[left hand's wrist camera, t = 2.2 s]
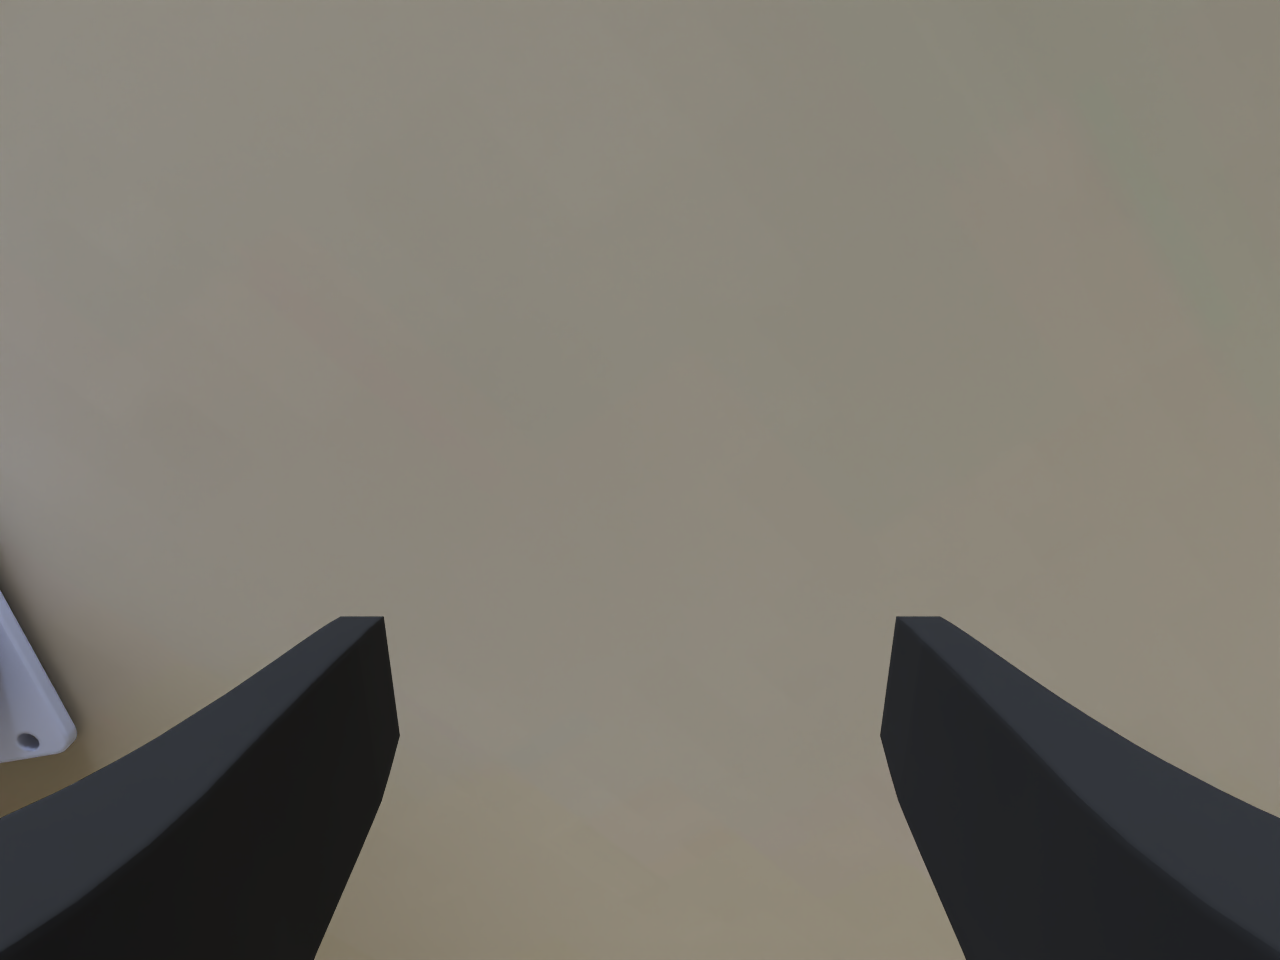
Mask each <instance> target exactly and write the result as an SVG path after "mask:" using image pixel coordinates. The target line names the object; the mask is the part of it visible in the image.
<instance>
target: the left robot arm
mask: <svg viewBox="0 0 1280 960" xmlns="http://www.w3.org/2000/svg"><path fill="white" fill-rule="evenodd" d="M32 735H33V736H35V737H36V738H37V739H36V738H34V737H33V736H32ZM399 736H400V734H399V726H398V719H397V711H396V704H395V697H394V689H393V682H392V675H391V667H390V660H389V652H388V645H387V638H386V630H385V623H384V617H339V618H337V619H335V620H334V621H332V622H330V623H329V624H327V625H326V626H324V627H322V628H321V629H319V630H318V631H316V632H315V633H313V634H312V635H311V636H309V637H308V638H306V639H305V640H303V641H302V642H300V643H299V644H298V645H296V646H295V647H293V648H292V649H290V650H289V651H288V652H286V653H285V654H283V655H282V656H280V657H279V658H278V659H276V660H275V661H273V662H272V663H270V664H269V665H267V666H266V667H265V668H263V669H262V670H260V671H259V672H257V673H256V674H254V675H253V676H251V677H250V678H249V679H247V680H246V681H244V682H243V683H241V684H240V685H238V686H237V687H236V688H234V689H233V690H231V691H230V692H228V693H227V694H225V695H224V696H222V697H220V698H219V699H217V700H216V701H214V702H213V703H211V704H209V705H208V706H206V707H205V708H203V709H201V710H200V711H198V712H197V713H195V714H194V715H192V716H190V717H189V718H187V719H186V720H184V721H183V722H181V723H179V724H178V725H176V726H175V727H173V728H171V729H170V730H168V731H167V732H165V733H164V734H162V735H160V736H159V737H157V738H155V739H154V740H152V741H150V742H149V743H147V744H145V745H144V746H142V747H140V748H138V749H137V750H135V751H133V752H131V753H129V754H128V755H126V756H124V757H122V758H121V759H119V760H117V761H115V762H113V763H111V764H110V765H108V766H106V767H104V768H102V769H100V770H98V771H96V772H94V773H93V774H91V775H89V776H87V777H85V778H83V779H81V780H79V781H77V782H76V783H74V784H72V785H70V786H68V787H66V788H64V789H62V790H60V791H58V792H56V793H54V794H52V795H49V796H47V797H45V798H43V799H41V800H39V801H36V802H34V803H32V804H30V805H28V806H26V807H23V808H21V809H19V810H17V811H15V812H13V813H10V814H8V815H6V816H4V817H2V818H0V960H314V958H315V955H316V953H317V951H318V948H319V946H320V944H321V941H322V939H323V937H324V935H325V932H326V930H327V928H328V925H329V923H330V921H331V918H332V916H333V914H334V911H335V909H336V907H337V904H338V902H339V900H340V898H341V895H342V893H343V891H344V888H345V886H346V884H347V881H348V879H349V877H350V874H351V872H352V870H353V867H354V865H355V863H356V861H357V858H358V856H359V854H360V851H361V849H362V847H363V844H364V842H365V839H366V837H367V835H368V832H369V830H370V828H371V825H372V823H373V821H374V818H375V816H376V813H377V811H378V808H379V806H380V803H381V801H382V798H383V794H384V791H385V788H386V784H387V781H388V777H389V774H390V770H391V767H392V763H393V759H394V755H395V752H396V748H397V744H398V740H399ZM880 736H881V740H882V744H883V748H884V752H885V755H886V759H887V763H888V767H889V770H890V774H891V777H892V781H893V784H894V788H895V791H896V794H897V798H898V801H899V803H900V806H901V808H902V811H903V813H904V816H905V818H906V821H907V823H908V825H909V828H910V830H911V832H912V835H913V837H914V839H915V842H916V844H917V847H918V849H919V851H920V854H921V856H922V858H923V861H924V863H925V865H926V867H927V870H928V872H929V874H930V877H931V879H932V881H933V884H934V886H935V888H936V891H937V893H938V895H939V898H940V900H941V902H942V904H943V907H944V909H945V911H946V914H947V916H948V918H949V921H950V923H951V925H952V928H953V930H954V932H955V935H956V937H957V939H958V941H959V944H960V946H961V948H962V951H963V953H964V955H965V958H966V960H1280V818H1278V817H1276V816H1274V815H1272V814H1269V813H1267V812H1265V811H1263V810H1260V809H1258V808H1256V807H1254V806H1252V805H1250V804H1248V803H1246V802H1244V801H1242V800H1239V799H1237V798H1235V797H1233V796H1231V795H1229V794H1227V793H1225V792H1223V791H1221V790H1219V789H1217V788H1215V787H1213V786H1211V785H1209V784H1208V783H1206V782H1204V781H1202V780H1200V779H1198V778H1196V777H1194V776H1192V775H1190V774H1188V773H1187V772H1185V771H1183V770H1181V769H1179V768H1177V767H1175V766H1173V765H1171V764H1169V763H1167V762H1166V761H1164V760H1162V759H1160V758H1158V757H1157V756H1155V755H1153V754H1151V753H1149V752H1148V751H1146V750H1144V749H1142V748H1141V747H1139V746H1137V745H1135V744H1134V743H1132V742H1130V741H1129V740H1127V739H1125V738H1124V737H1122V736H1120V735H1119V734H1117V733H1116V732H1114V731H1112V730H1111V729H1109V728H1107V727H1106V726H1104V725H1102V724H1101V723H1099V722H1098V721H1096V720H1094V719H1093V718H1091V717H1089V716H1088V715H1086V714H1085V713H1083V712H1082V711H1080V710H1078V709H1077V708H1075V707H1074V706H1072V705H1071V704H1069V703H1068V702H1066V701H1064V700H1063V699H1061V698H1060V697H1058V696H1057V695H1055V694H1054V693H1052V692H1051V691H1049V690H1048V689H1046V688H1045V687H1044V686H1042V685H1041V684H1039V683H1038V682H1036V681H1035V680H1033V679H1032V678H1030V677H1029V676H1027V675H1026V674H1024V673H1023V672H1022V671H1020V670H1019V669H1017V668H1016V667H1014V666H1013V665H1012V664H1010V663H1009V662H1007V661H1006V660H1004V659H1003V658H1002V657H1000V656H999V655H997V654H996V653H994V652H993V651H992V650H990V649H989V648H987V647H986V646H984V645H983V644H981V643H980V642H979V641H977V640H976V639H974V638H973V637H971V636H970V635H968V634H967V633H965V632H964V631H962V630H961V629H959V628H958V627H956V626H955V625H953V624H952V623H950V622H948V621H947V620H945V619H943V618H942V617H896V623H895V630H894V638H893V645H892V652H891V660H890V667H889V675H888V682H887V689H886V697H885V704H884V711H883V719H882V726H881V734H880ZM76 737H77V730H76V727H75V725H74V723H73V721H72V719H71V718H70V716H69V714H68V712H67V710H66V709H65V707H64V705H63V703H62V701H61V700H60V698H59V696H58V694H57V692H56V690H55V689H54V687H53V685H52V683H51V681H50V680H49V678H48V676H47V674H46V672H45V670H44V669H43V667H42V665H41V663H40V661H39V660H38V658H37V656H36V654H35V652H34V651H33V649H32V647H31V645H30V643H29V641H28V640H27V638H26V636H25V634H24V632H23V631H22V629H21V627H20V625H19V623H18V621H17V620H16V618H15V616H14V614H13V612H12V611H11V609H10V607H9V605H8V603H7V602H6V600H5V598H4V596H3V594H2V592H1V591H0V763H3V762H10V761H16V760H22V759H28V758H34V757H41V756H47V755H53V754H58V753H61V752H64V751H65V750H66V749H67V748H68V747H69V746H70V745H71V744H72V743H73V742H74V741H75V740H76Z"/></svg>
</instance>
